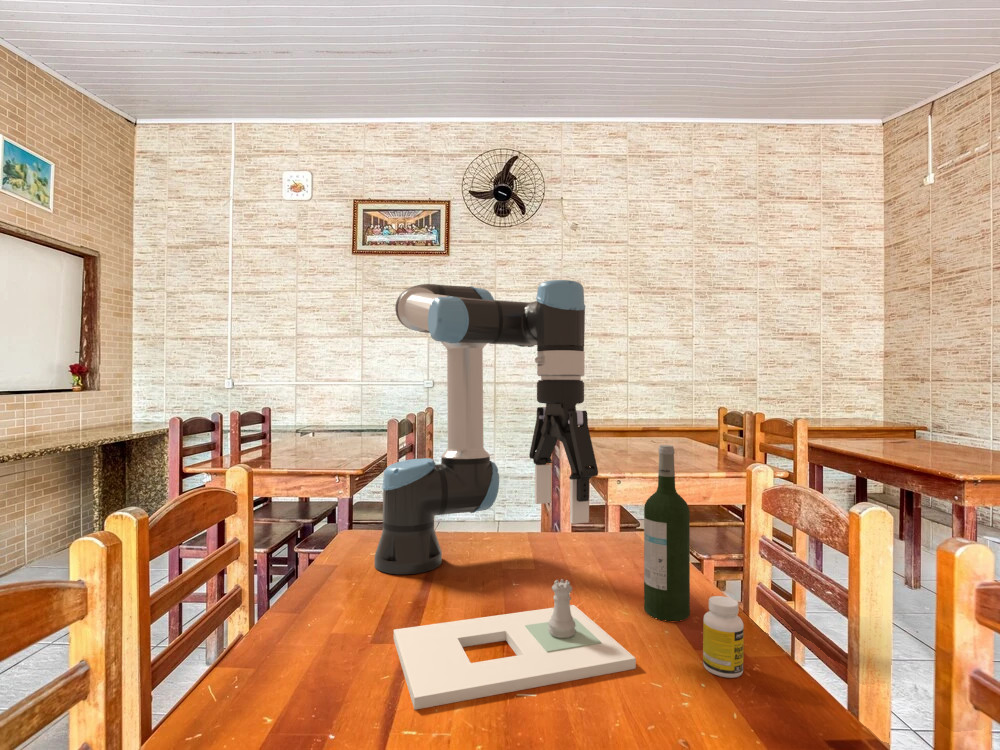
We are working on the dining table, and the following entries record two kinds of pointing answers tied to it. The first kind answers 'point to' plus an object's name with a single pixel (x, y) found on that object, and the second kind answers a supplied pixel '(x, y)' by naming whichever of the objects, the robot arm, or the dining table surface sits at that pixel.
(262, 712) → the dining table surface
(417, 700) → the hole board
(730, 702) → the dining table surface
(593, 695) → the dining table surface
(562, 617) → the rook chess piece
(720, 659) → the supplement bottle
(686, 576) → the wine bottle
